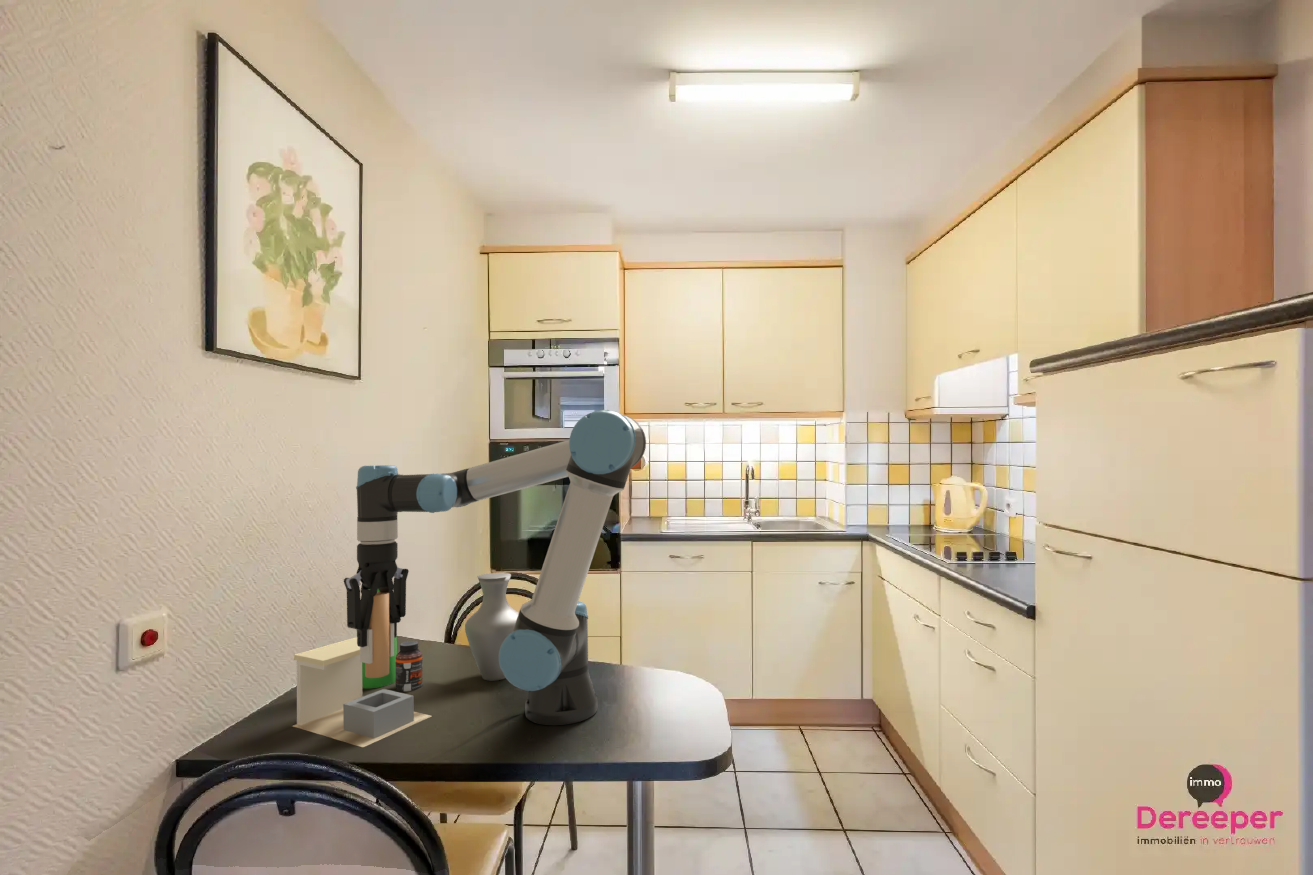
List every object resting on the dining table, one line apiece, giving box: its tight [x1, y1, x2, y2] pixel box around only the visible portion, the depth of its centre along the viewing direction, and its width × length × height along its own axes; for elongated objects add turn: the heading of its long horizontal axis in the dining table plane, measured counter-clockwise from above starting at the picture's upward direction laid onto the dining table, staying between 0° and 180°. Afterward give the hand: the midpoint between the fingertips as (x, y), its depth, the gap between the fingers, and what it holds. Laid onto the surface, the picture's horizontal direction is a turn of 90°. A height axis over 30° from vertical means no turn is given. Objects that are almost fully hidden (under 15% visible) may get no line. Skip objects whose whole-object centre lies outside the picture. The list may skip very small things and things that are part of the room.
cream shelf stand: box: [293, 636, 363, 725], centre depth 133 cm, size 10×15×14 cm, turn 151°
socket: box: [343, 688, 415, 739], centre depth 127 cm, size 9×9×5 cm
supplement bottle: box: [395, 640, 424, 692], centre depth 149 cm, size 6×6×11 cm
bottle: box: [362, 589, 398, 689], centre depth 154 cm, size 9×9×25 cm
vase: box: [464, 572, 519, 681], centre depth 159 cm, size 14×14×25 cm
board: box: [292, 709, 433, 748], centre depth 130 cm, size 22×16×1 cm
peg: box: [365, 592, 389, 678], centre depth 128 cm, size 4×4×16 cm
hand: (377, 658), depth 128 cm, fingers closed on peg, 4 cm apart
